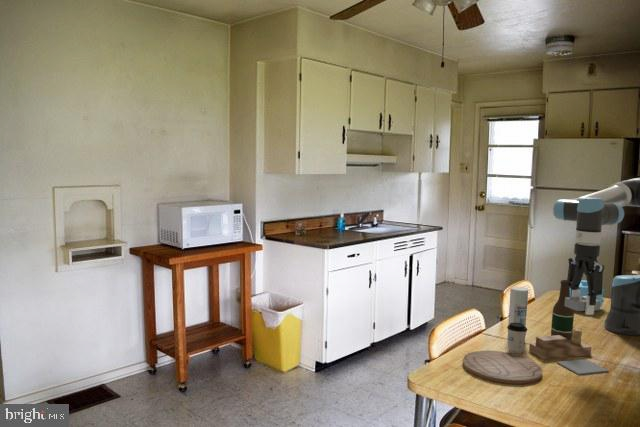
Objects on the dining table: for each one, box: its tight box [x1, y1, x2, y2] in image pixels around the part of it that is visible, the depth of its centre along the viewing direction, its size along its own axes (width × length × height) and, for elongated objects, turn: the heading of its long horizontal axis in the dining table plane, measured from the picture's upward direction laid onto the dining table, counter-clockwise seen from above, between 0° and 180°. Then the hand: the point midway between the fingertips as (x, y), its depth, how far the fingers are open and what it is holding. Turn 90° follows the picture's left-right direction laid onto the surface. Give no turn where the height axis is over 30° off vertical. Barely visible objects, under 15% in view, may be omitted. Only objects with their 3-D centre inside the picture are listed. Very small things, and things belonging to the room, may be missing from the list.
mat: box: [556, 358, 609, 376], centre depth 174 cm, size 12×10×1 cm
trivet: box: [462, 350, 543, 386], centre depth 171 cm, size 25×25×2 cm
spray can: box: [507, 286, 529, 328], centre depth 200 cm, size 6×6×20 cm
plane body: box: [528, 328, 592, 360], centre depth 186 cm, size 20×8×8 cm, turn 105°
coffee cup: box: [506, 323, 528, 355], centre depth 187 cm, size 7×7×10 cm
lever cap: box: [564, 296, 601, 312], centre depth 173 cm, size 9×6×4 cm, turn 104°
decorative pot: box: [570, 279, 605, 312], centre depth 247 cm, size 16×16×14 cm
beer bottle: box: [550, 279, 575, 340], centre depth 199 cm, size 8×8×24 cm
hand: (581, 311), depth 173 cm, fingers closed on lever cap, 6 cm apart
